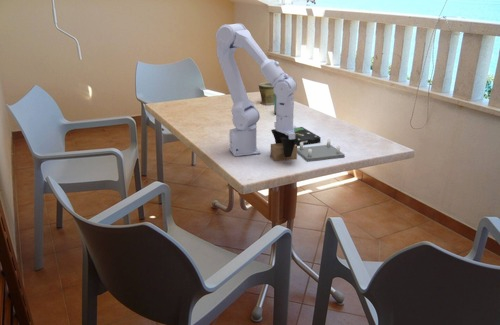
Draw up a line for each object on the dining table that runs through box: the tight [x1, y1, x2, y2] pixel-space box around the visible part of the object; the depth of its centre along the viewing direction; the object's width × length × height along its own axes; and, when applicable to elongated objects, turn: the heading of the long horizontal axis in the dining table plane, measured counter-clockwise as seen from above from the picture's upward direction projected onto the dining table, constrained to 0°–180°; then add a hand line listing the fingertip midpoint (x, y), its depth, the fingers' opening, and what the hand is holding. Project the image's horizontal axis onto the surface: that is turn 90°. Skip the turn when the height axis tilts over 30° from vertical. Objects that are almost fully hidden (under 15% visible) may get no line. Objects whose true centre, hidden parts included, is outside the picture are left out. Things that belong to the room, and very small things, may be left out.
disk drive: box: [294, 126, 321, 147], centre depth 162 cm, size 10×3×15 cm
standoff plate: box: [297, 139, 346, 162], centre depth 146 cm, size 14×11×4 cm
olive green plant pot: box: [258, 82, 275, 106], centre depth 215 cm, size 13×10×10 cm
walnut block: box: [270, 143, 298, 162], centre depth 142 cm, size 8×4×5 cm, turn 107°
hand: (283, 152), depth 142 cm, fingers open, 7 cm apart
